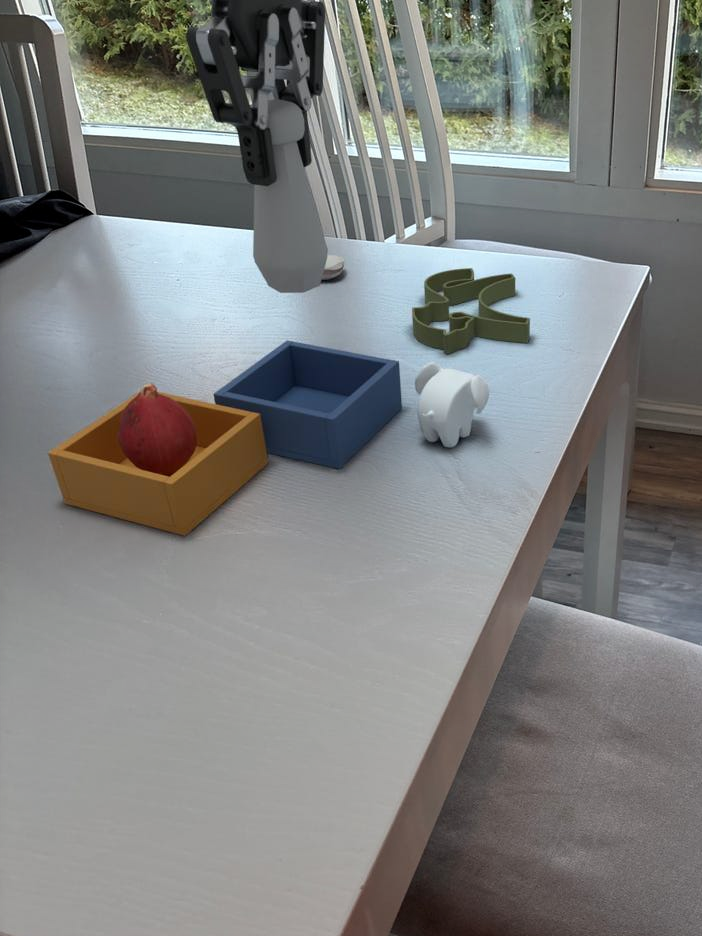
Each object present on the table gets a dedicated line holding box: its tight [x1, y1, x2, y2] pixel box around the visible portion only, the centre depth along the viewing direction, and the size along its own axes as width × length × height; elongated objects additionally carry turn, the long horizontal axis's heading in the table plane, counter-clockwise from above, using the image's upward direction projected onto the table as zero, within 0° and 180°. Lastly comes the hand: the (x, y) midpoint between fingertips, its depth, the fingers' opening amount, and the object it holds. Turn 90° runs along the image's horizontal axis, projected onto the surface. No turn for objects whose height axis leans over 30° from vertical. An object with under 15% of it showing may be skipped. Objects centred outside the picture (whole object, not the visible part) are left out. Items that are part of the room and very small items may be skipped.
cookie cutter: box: [411, 267, 531, 355], centre depth 102 cm, size 18×12×2 cm, turn 5°
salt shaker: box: [250, 99, 329, 294], centre depth 73 cm, size 6×6×13 cm
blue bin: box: [213, 340, 403, 470], centre depth 84 cm, size 12×12×5 cm
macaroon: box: [321, 254, 345, 281], centre depth 112 cm, size 4×5×2 cm
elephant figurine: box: [414, 361, 490, 448], centre depth 82 cm, size 7×8×6 cm
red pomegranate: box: [118, 382, 197, 477], centre depth 75 cm, size 6×6×8 cm
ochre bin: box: [47, 391, 269, 537], centre depth 77 cm, size 12×12×5 cm
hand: (279, 173), depth 72 cm, fingers closed on salt shaker, 4 cm apart
